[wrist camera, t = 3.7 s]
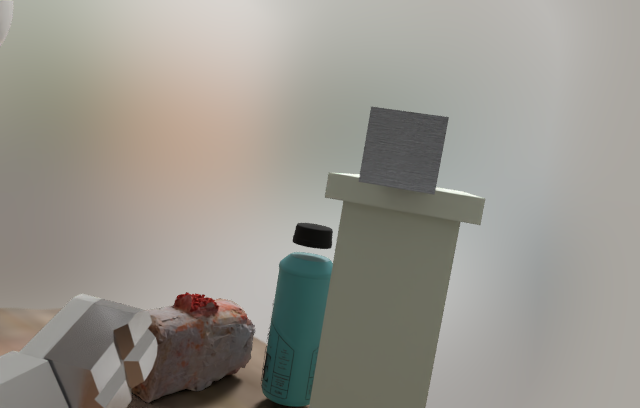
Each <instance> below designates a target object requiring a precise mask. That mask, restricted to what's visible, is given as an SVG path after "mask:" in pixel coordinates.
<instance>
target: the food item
mask: <svg viewBox="0 0 640 408" xmlns="http://www.w3.org/2000/svg"><path fill="white" fill-rule="evenodd" d="M204 296H205V295H202V296H201V295H199V294H195V295H194V294H192V295H191V294H189V293H187V292H186V294H181V295H178V296H177V299H176V300H175V303H174V305H173V306H167V307H162V308H156V309H150V310H147V311H149V313H150V317H151V320H152V323H151V325H150V326H149V327H148V329H149V330H150V331H151V332H152V333H153V335H154V336H155V337H156V340H157V345H158V346H157V357H156V359H155V362H154V365H153V368H152V370H151V372H150V373H149V375H148V376H147V378H146V379H145V381H144V382H142V383H140V384H139V385H137V386H135V387H133V388H132V389H131V392H133V393H134V394H136V395H137V396H139V397H140V398H141V399H142V400H143V401H145V402H147V403H150V402H151V401H153V400H155V399H159V398H160V397H161V396H165V395H169V394H172V393H175V392H177V391H180V390H183V389H189V390H193V391H201V390H204V388H206V387H208V386H210V385H211V383H212V382H213V381H218V380H220V379H221V378H223V377H224V376H225V375H229V374H236V373H237V372H238V370H239V369H240V368H241V367H242V368H245V366H246V364H247V363H248V362H249V360H250V359H251V351H252V344H253V342H252V341H253V335H254V333H255V328H254V327H255V326H254V325H253V324H252V322H251V320H249V319H248V317H247V314H246V313H245V311H244V310H243V309H242V308H241V307H240V306H239V305H238V304H236V303H235V302H233V301H230V300H226V299H221V298H219V299H216V300H213V299H212V298H204Z"/></svg>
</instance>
